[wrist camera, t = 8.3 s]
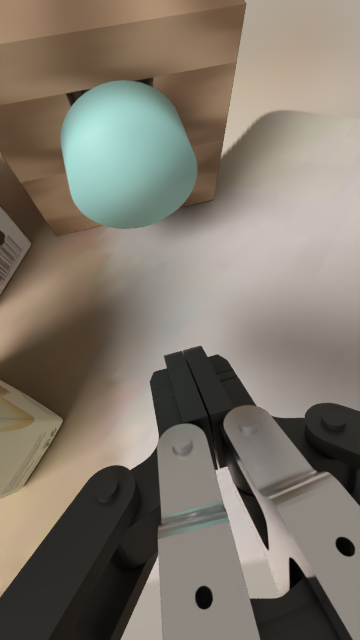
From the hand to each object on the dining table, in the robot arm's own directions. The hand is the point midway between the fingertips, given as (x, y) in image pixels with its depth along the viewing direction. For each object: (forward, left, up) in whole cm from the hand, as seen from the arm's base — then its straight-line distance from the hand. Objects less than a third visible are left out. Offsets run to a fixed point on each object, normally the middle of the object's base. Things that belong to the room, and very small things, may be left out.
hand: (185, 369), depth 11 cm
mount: (0, -16, -6) cm, 18 cm away
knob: (0, -16, -2) cm, 16 cm away
